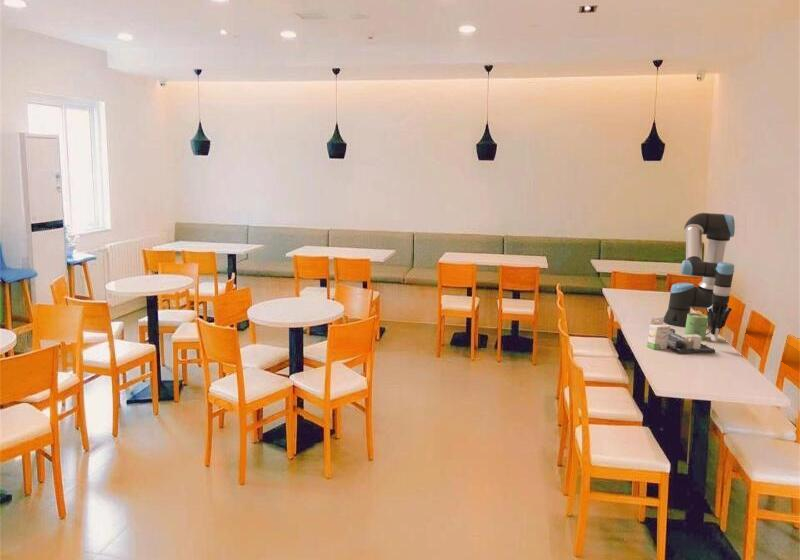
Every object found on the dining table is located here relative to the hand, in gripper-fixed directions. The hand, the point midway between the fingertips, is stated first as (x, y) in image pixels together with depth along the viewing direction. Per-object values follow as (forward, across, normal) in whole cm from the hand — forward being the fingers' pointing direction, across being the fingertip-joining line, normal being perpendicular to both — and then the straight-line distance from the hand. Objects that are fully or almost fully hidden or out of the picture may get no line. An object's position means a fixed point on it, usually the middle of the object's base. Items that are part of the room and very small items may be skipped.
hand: (713, 340), depth 309 cm
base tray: (+5, +12, -6) cm, 15 cm away
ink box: (+5, +27, -6) cm, 28 cm away
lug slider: (+3, +14, +1) cm, 14 cm away
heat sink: (+3, +15, -6) cm, 17 cm away
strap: (0, +15, -6) cm, 16 cm away
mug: (+6, -7, -20) cm, 22 cm away
